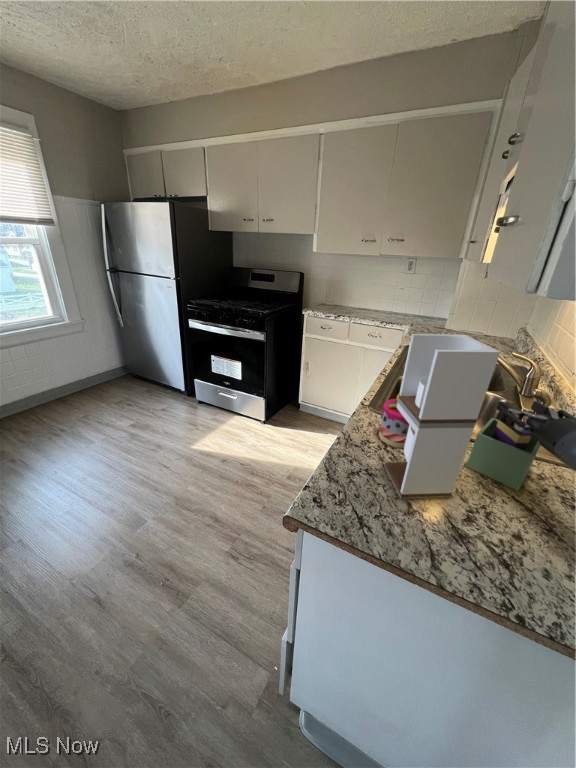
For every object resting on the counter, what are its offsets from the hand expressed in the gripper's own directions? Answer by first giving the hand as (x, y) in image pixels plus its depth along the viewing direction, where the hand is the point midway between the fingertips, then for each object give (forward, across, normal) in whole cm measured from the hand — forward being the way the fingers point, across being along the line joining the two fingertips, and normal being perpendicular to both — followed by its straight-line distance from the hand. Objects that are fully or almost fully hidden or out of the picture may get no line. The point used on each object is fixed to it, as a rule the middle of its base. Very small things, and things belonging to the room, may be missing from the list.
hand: (516, 404), depth 74 cm
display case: (-6, +24, +18) cm, 30 cm away
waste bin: (-2, 0, +18) cm, 18 cm away
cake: (+11, +22, +18) cm, 30 cm away
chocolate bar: (-2, 0, +17) cm, 17 cm away
